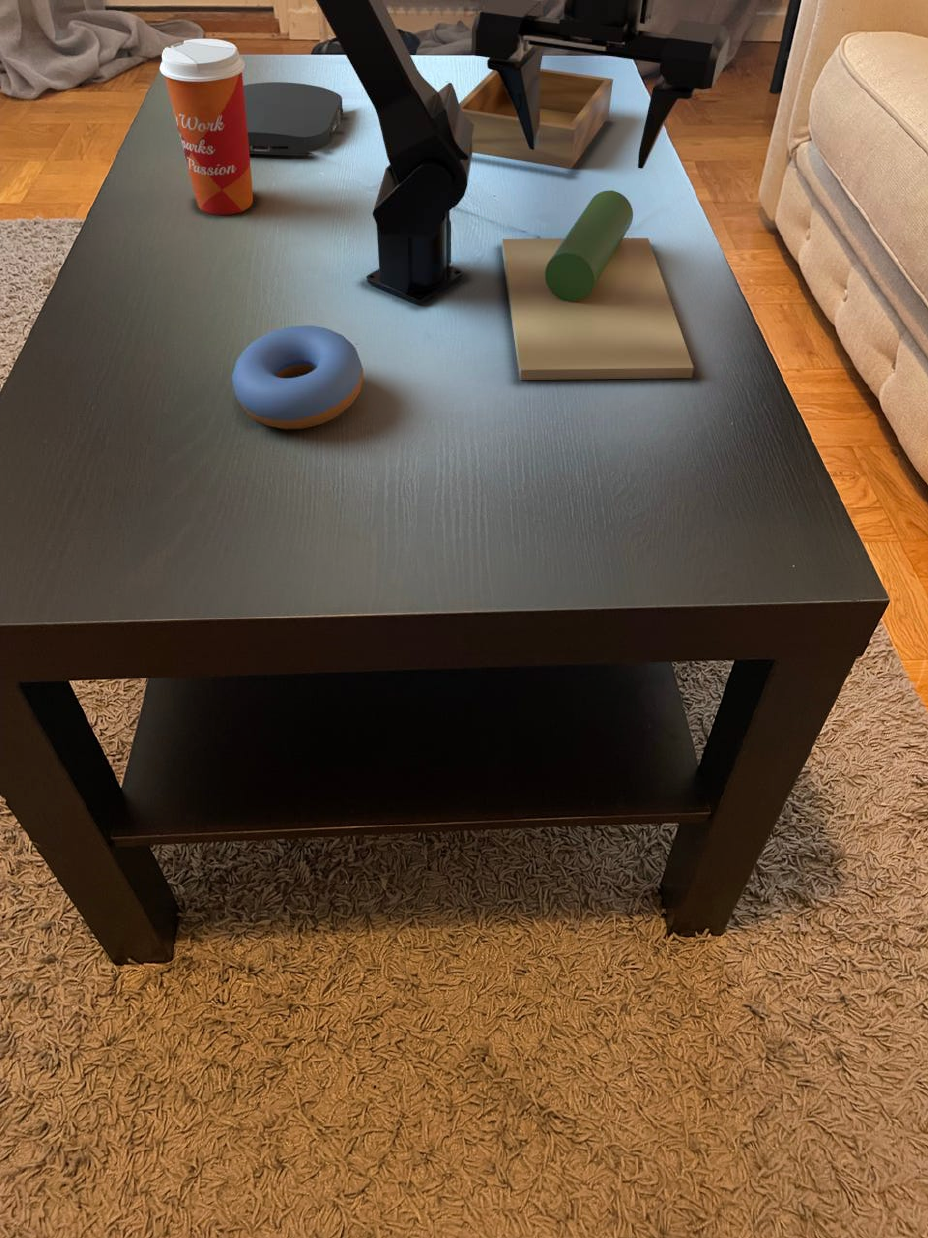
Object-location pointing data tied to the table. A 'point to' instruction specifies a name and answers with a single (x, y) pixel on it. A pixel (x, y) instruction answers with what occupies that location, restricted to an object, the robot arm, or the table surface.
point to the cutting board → (594, 318)
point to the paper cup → (211, 121)
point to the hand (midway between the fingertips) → (586, 157)
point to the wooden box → (565, 117)
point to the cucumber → (589, 246)
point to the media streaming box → (290, 117)
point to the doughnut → (304, 398)
